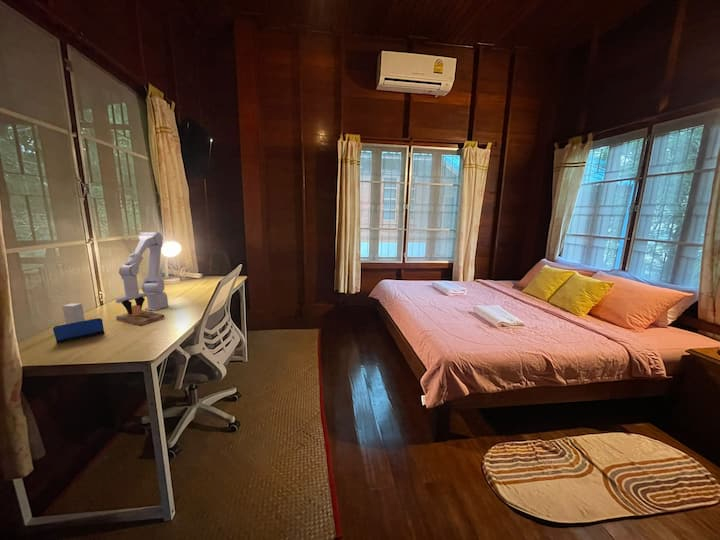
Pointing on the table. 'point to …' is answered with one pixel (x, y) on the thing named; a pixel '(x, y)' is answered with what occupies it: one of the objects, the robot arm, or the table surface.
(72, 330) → the blue box
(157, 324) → the table surface
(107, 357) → the table surface
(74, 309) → the skincare box
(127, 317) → the socket block
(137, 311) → the square bit
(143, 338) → the table surface
